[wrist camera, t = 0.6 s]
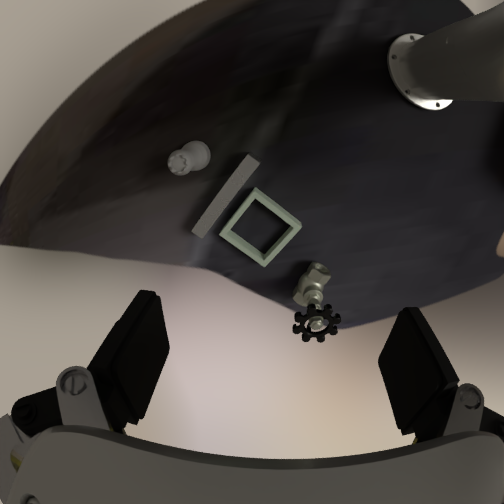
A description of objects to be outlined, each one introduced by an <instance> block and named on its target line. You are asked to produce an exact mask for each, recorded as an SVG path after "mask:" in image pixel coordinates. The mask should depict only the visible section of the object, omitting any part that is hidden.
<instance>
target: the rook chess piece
mask: <svg viewBox="0 0 504 504" xmlns="http://www.w3.org/2000/svg"><path fill="white" fill-rule="evenodd" d="M210 157H211V156H210V150H209V148H208V146H207V145H206V144H204V143H203V142H200V141H191V142H189V143H187V144H185V145H184V146H183V148H182V149H181V150H176V151H174V152H172V153H171V155H170V156H169V159H168V167H169V169H170V171H171V172H172V173H174V174H176V175H179V176H181V175H185V174H187V173H189V171H190V170H191V171H198V170H201V169H203V168H205V167H206V166H207V164H208V163H209V161H210Z"/></svg>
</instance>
